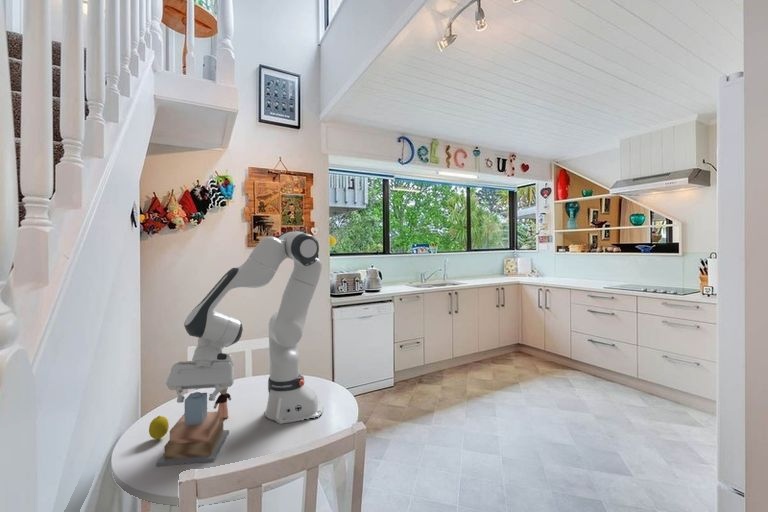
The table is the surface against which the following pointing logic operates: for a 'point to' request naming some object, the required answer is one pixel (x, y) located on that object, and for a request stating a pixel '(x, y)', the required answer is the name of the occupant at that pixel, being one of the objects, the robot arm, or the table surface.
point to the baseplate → (196, 459)
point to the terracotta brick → (194, 438)
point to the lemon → (158, 427)
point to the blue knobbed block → (195, 408)
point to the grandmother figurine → (222, 403)
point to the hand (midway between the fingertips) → (195, 401)
